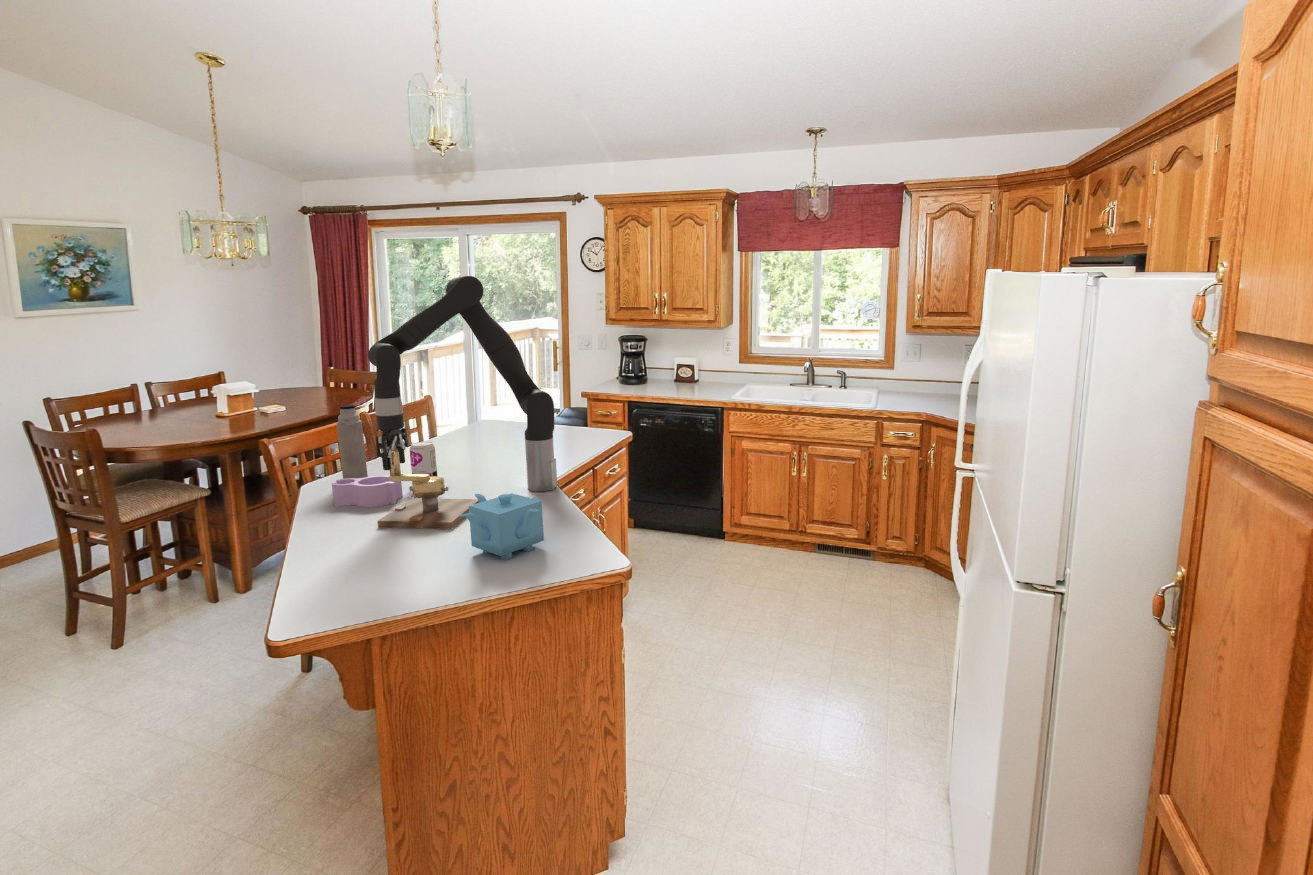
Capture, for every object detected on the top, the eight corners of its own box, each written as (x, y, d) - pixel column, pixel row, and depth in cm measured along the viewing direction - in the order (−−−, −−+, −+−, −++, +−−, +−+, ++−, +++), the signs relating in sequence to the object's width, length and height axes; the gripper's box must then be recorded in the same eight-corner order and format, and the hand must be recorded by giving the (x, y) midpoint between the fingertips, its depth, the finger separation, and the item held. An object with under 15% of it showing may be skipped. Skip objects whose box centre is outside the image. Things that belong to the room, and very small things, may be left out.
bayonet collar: (454, 489, 215) (450, 449, 212) (441, 498, 206) (438, 456, 204) (399, 488, 217) (395, 448, 214) (385, 497, 208) (380, 455, 206)
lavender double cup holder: (328, 508, 223) (326, 487, 221) (343, 497, 235) (341, 476, 233) (393, 506, 224) (391, 485, 222) (405, 495, 236) (403, 474, 234)
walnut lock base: (480, 505, 222) (478, 484, 221) (451, 529, 201) (449, 506, 199) (413, 504, 225) (411, 483, 223) (378, 527, 203) (375, 505, 202)
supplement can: (422, 491, 239) (418, 447, 236) (408, 487, 244) (404, 444, 241) (443, 485, 246) (439, 443, 242) (428, 481, 250) (424, 440, 247)
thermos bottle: (351, 481, 253) (342, 403, 247) (372, 481, 253) (364, 403, 247) (339, 487, 246) (329, 407, 240) (361, 487, 245) (352, 407, 239)
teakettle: (545, 536, 194) (542, 483, 191) (542, 561, 176) (539, 504, 173) (474, 540, 192) (470, 487, 189) (464, 566, 174) (459, 508, 171)
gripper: (389, 417, 200) (395, 472, 203) (412, 408, 214) (417, 460, 217) (364, 416, 201) (370, 472, 204) (389, 408, 215) (394, 460, 218)
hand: (394, 466), depth 211 cm, fingers open, 8 cm apart
